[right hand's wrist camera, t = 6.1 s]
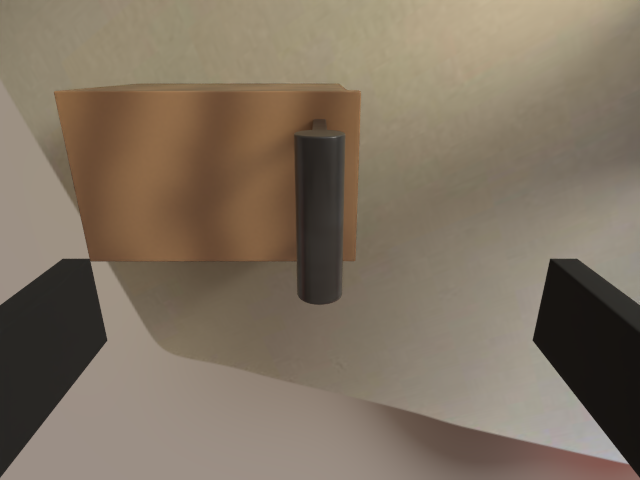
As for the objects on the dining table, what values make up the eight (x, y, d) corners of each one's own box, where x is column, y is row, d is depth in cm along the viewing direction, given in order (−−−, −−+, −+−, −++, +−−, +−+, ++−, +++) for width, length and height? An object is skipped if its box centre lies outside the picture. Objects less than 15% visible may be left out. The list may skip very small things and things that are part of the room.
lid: (359, 90, 24) (379, 101, 16) (354, 255, 28) (368, 330, 20) (62, 90, 24) (-63, 101, 16) (96, 255, 28) (8, 330, 20)
